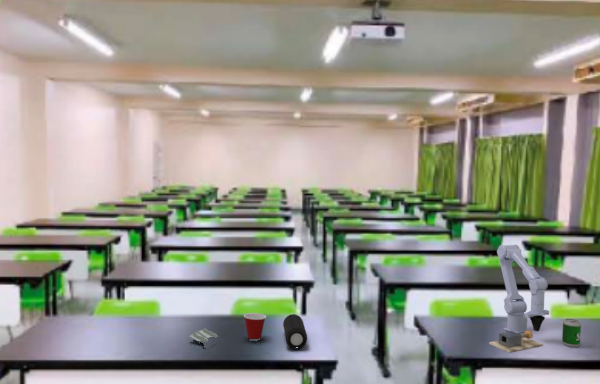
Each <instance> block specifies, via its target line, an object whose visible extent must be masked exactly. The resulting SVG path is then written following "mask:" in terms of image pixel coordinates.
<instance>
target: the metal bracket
mask: <svg viewBox="0 0 600 384" xmlns="http://www.w3.org/2000/svg"><path fill="white" fill-rule="evenodd" d="M188 337H189V338H191V339H192V340H193V339H195V340H194V341H197V342H198V341H204V342H208V339H207V338H209V337H215V338H217V337H219V335H218V334H217V333H215V332H213V331H211V330H208V329H207V328H206V327H203V329H201V330H199V331H198V329H196V330H195V332H193V333H192V334H191V335H189V336H188Z"/></svg>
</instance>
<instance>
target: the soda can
mask: <svg viewBox="0 0 600 384" xmlns="http://www.w3.org/2000/svg"><path fill="white" fill-rule="evenodd" d="M581 329H582V324H581V322H580V321H579V320H577V319H575V318H565V319H564V320H563V321H562V336H561V337H562V339H561V343H562V344H563V345H564V346H565V347H568V348H572V349H573V348H575V349H576V348H578V347H579V346H580V345H581Z"/></svg>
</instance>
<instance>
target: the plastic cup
mask: <svg viewBox="0 0 600 384" xmlns="http://www.w3.org/2000/svg"><path fill="white" fill-rule="evenodd" d="M243 317H244V321H245V327H246V334H247V338H249V339H259V338H261V339H262V335H263V334H262V333H263V328H264V324H265V321H266V319H267V315H265V314H262V313H255V312H249V313H245V314H243Z"/></svg>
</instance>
